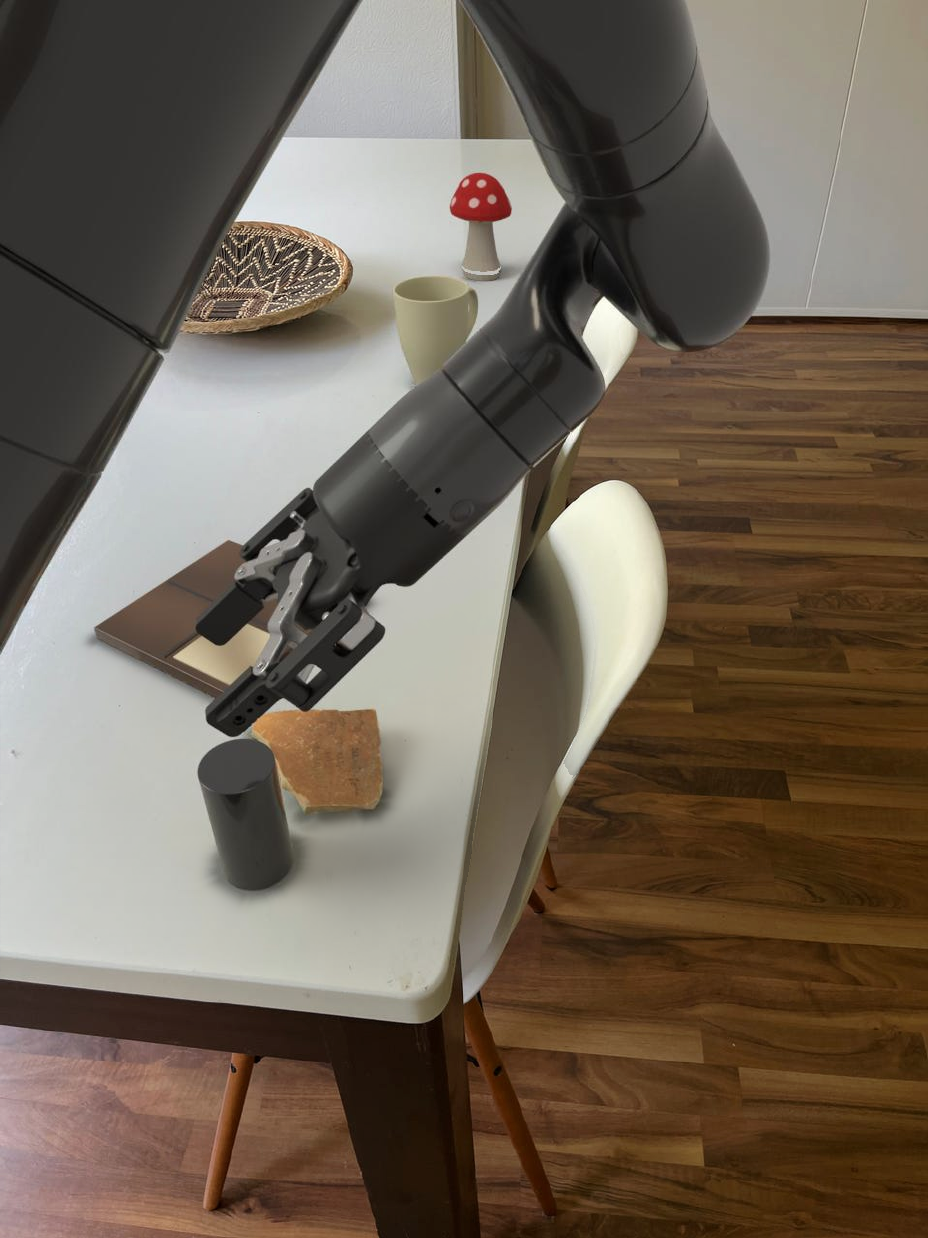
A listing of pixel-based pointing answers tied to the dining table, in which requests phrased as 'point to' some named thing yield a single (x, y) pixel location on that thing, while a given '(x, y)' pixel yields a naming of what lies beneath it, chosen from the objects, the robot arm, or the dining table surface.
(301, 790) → the pottery shard
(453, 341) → the mug
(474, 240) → the decorative mushroom
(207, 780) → the dark grey cylinder
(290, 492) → the dining table surface
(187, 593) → the board
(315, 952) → the dining table surface
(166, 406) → the dining table surface
